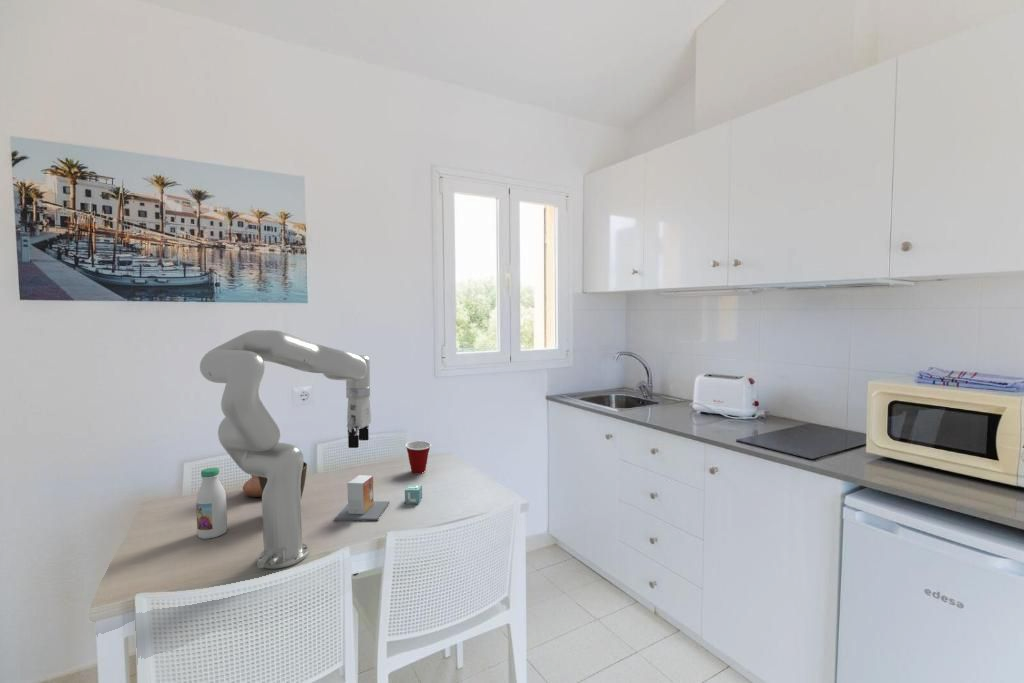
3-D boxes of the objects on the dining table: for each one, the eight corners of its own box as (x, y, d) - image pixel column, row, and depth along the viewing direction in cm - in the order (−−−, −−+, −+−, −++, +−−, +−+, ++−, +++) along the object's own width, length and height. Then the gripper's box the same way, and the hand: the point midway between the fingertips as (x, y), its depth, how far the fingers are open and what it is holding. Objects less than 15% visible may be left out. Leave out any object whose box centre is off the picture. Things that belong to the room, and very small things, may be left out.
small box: (363, 514, 155) (362, 483, 154) (347, 514, 156) (346, 482, 155) (374, 505, 163) (373, 475, 162) (359, 504, 163) (358, 474, 163)
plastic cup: (414, 477, 192) (413, 449, 192) (401, 471, 200) (400, 443, 200) (436, 471, 200) (436, 444, 199) (423, 465, 207) (422, 439, 207)
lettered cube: (419, 504, 166) (418, 489, 165) (404, 504, 166) (404, 489, 165) (422, 498, 171) (421, 484, 170) (408, 498, 171) (408, 484, 171)
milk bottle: (222, 525, 149) (219, 463, 148) (231, 532, 144) (229, 468, 143) (193, 534, 143) (191, 470, 142) (202, 542, 138) (200, 475, 137)
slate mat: (377, 520, 152) (377, 518, 152) (334, 520, 152) (334, 518, 152) (389, 503, 166) (389, 501, 166) (350, 503, 166) (350, 501, 166)
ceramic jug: (292, 494, 175) (291, 456, 174) (248, 504, 166) (247, 464, 165) (279, 482, 189) (278, 447, 188) (238, 491, 179) (236, 454, 179)
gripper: (360, 396, 147) (361, 450, 148) (377, 389, 165) (377, 437, 165) (336, 396, 148) (337, 450, 148) (356, 389, 165) (356, 437, 165)
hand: (358, 443), depth 157 cm, fingers open, 9 cm apart
